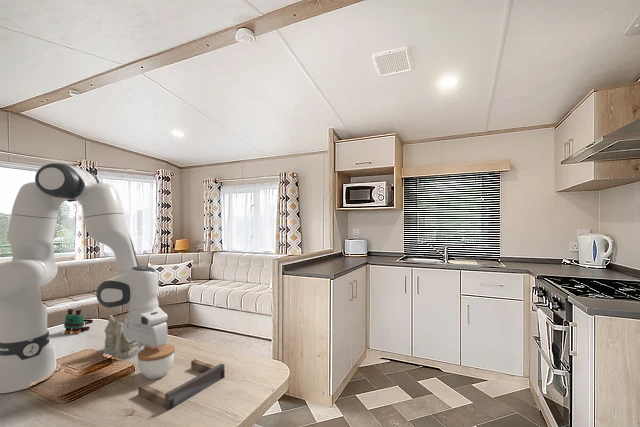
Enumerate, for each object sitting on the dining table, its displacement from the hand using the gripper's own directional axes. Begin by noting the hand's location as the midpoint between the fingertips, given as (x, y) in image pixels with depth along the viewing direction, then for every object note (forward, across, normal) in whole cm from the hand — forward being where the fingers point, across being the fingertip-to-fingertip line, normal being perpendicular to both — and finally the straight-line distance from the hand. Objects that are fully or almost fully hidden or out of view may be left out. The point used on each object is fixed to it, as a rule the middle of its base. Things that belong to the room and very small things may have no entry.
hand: (144, 354), depth 103 cm
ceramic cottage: (+5, -21, +6) cm, 23 cm away
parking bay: (+5, +20, 0) cm, 21 cm away
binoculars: (+5, -64, +6) cm, 65 cm away
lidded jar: (+5, +7, 0) cm, 9 cm away
